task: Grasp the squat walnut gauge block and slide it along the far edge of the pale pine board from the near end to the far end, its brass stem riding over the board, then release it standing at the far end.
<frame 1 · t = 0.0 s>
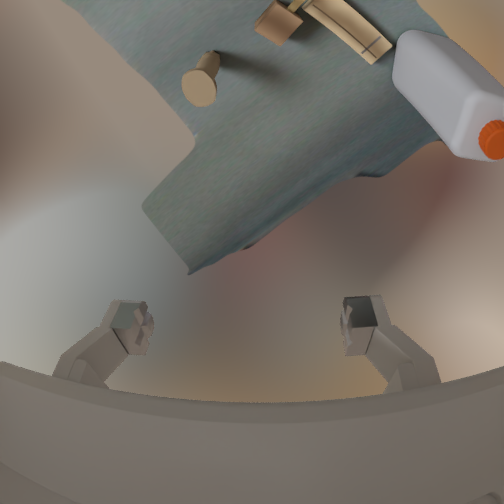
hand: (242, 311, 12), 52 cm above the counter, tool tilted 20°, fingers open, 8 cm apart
gauge: (276, 17, 41), on the counter
board: (346, 22, 40), on the counter
handle: (212, 57, 48), on the counter
plastic bottle: (424, 63, 44), on the counter
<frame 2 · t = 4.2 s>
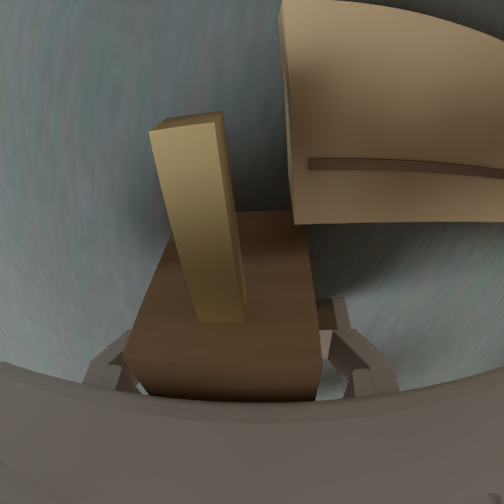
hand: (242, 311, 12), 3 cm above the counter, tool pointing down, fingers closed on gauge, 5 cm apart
gauge: (246, 268, 14), on the counter, touching gripper
board: (476, 114, 9), on the counter
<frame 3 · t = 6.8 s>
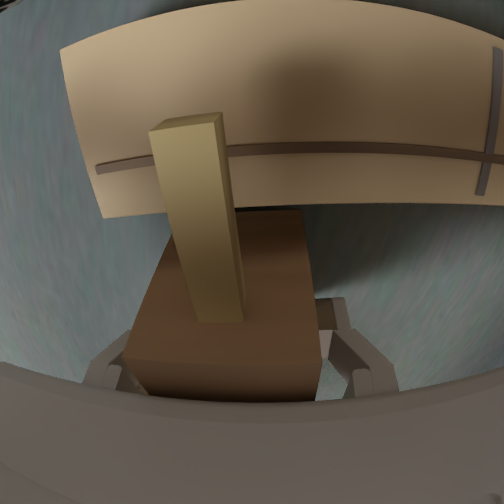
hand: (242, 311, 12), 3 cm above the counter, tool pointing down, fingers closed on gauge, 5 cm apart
gauge: (246, 268, 14), point 1 cm above the counter, touching gripper
board: (327, 89, 10), on the counter
when the fingers open (3 cm above the counter, at t = 9.7 s): gauge stays where it is, on the counter.
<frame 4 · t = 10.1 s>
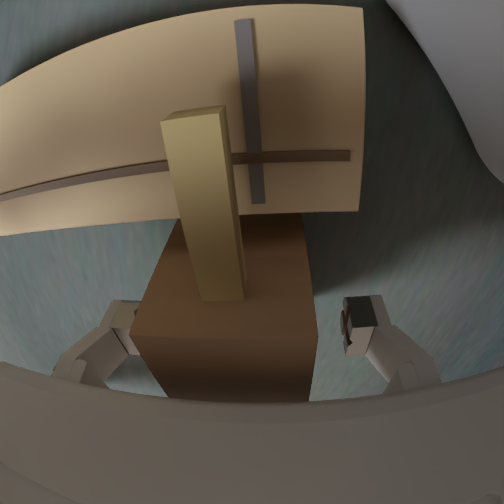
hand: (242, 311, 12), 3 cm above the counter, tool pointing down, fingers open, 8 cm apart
gauge: (246, 258, 15), on the counter
board: (130, 114, 11), on the counter
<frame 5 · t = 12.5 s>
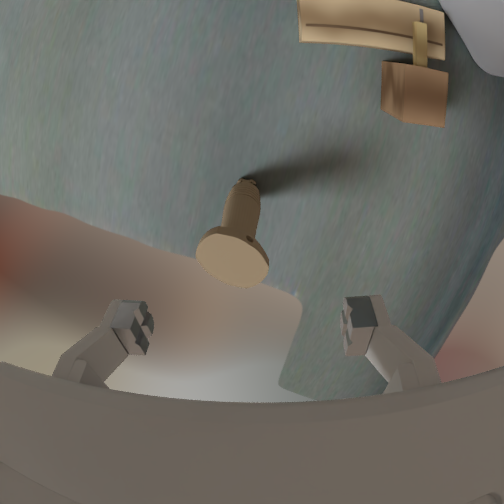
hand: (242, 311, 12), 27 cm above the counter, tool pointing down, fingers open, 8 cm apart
gauge: (400, 87, 28), on the counter
board: (369, 24, 24), on the counter
handle: (246, 187, 38), on the counter
plastic bottle: (486, 15, 19), on the counter
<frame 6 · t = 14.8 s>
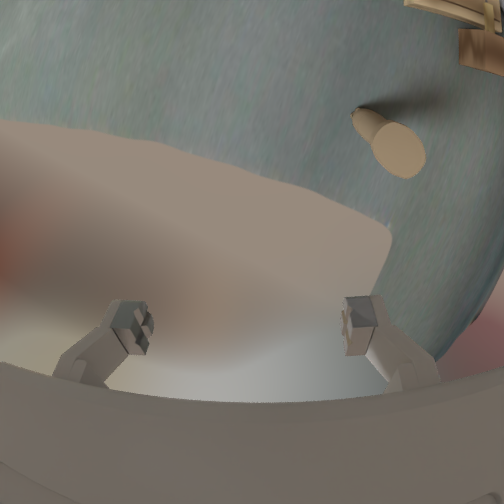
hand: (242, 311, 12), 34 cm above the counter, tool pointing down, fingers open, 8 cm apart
gauge: (470, 49, 28), on the counter
board: (449, 0, 24), on the counter
handle: (360, 117, 38), on the counter
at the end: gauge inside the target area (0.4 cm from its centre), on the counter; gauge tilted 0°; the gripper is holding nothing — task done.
